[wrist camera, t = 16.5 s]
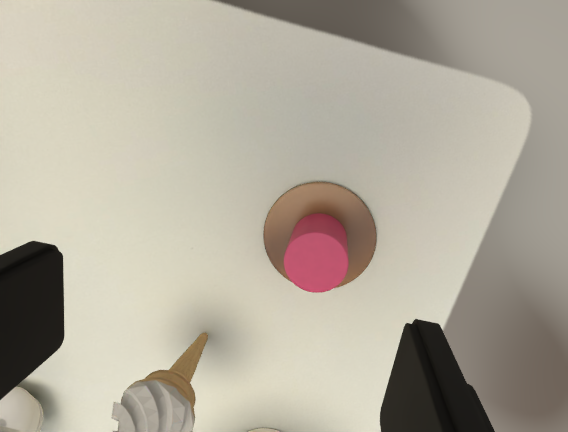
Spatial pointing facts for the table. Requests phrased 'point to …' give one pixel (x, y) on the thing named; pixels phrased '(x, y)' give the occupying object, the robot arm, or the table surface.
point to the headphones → (21, 411)
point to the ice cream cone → (162, 397)
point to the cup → (263, 430)
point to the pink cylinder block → (317, 253)
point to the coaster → (321, 201)
